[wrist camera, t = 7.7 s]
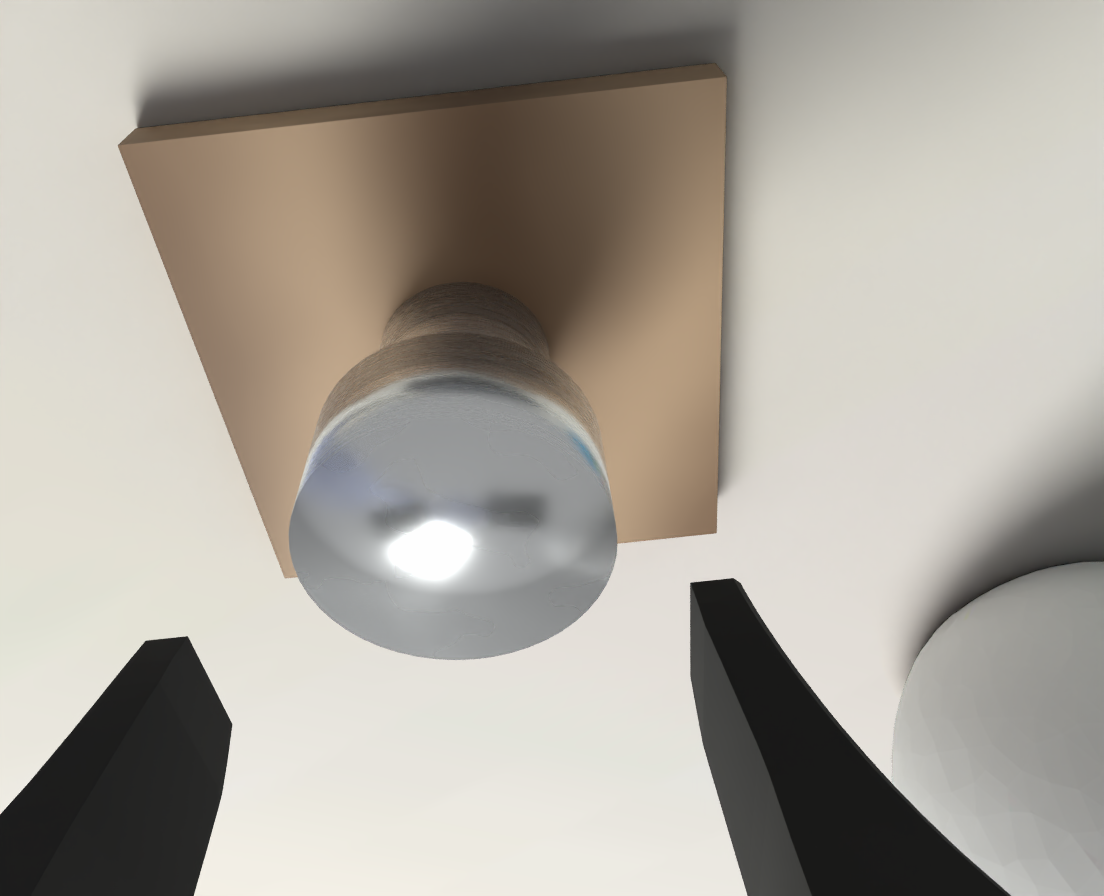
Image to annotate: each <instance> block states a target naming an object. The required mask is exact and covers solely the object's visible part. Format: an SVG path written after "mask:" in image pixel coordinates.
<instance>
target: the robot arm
mask: <svg viewBox="0 0 1104 896" xmlns="http://www.w3.org/2000/svg"><path fill="white" fill-rule="evenodd" d="M690 664H691V682H692V687H693V693H694V698H695V704H696V709H697V715H698V720H699V725H700V731H701V736H702V741H703V746H704V749H705V753H706V756H707V760H708V763H709V766H710V770H711V773H712V777H713V780H714V783H715V787H716V790H717V794H718V797H719V801H720V804H721V807H722V811H723V814H724V817H725V821H726V824H727V828H728V831H729V834H730V838H731V841H732V844H733V848H734V851H735V855H736V858H737V861H738V865H739V868H740V871H741V875H742V878H743V882H744V885H745V888H746V892H747V895H748V896H1011V895H1010V894H1009V893H1008V892H1007V891H1005V890H1004V889H1003V888H1002V887H1001V886H1000V885H999V884H997V883H996V882H995V881H994V880H993V879H992V878H991V877H989V876H988V875H987V874H986V873H985V872H984V871H983V870H981V869H980V868H979V867H978V866H977V865H976V864H975V863H973V862H972V861H971V860H970V859H969V858H968V857H967V856H965V855H964V854H963V853H962V852H961V851H960V850H959V849H958V848H957V847H956V846H955V845H953V844H952V843H951V842H950V841H949V840H948V839H947V838H946V837H945V836H944V835H943V834H942V833H941V832H940V831H939V830H938V829H937V828H936V827H935V826H934V825H933V824H932V823H931V822H930V821H929V820H928V819H926V818H925V817H924V816H923V815H922V814H921V813H920V812H919V811H918V810H917V809H916V808H915V806H914V805H913V804H912V803H911V802H910V801H909V800H908V799H907V798H906V797H905V796H904V795H903V794H902V793H901V792H900V791H899V790H898V789H897V788H896V787H895V786H894V785H893V784H892V783H891V782H890V781H889V780H888V779H887V777H886V776H885V775H884V774H883V773H882V772H881V771H880V770H879V769H878V768H877V767H876V765H875V764H874V763H873V762H872V761H871V760H870V759H869V758H868V757H867V756H866V754H865V753H864V752H863V751H862V750H861V749H860V747H859V746H858V745H857V744H856V743H855V742H854V740H853V739H852V738H851V737H850V736H849V735H848V733H847V732H846V731H845V730H844V729H843V728H842V726H841V725H840V724H839V723H838V722H837V720H836V719H835V718H834V717H833V715H832V714H831V713H830V712H829V711H828V709H827V708H826V707H825V706H824V704H823V703H822V702H821V700H820V699H819V698H818V697H817V695H816V694H815V693H814V691H813V690H812V689H811V687H810V686H809V685H808V684H807V682H806V681H805V680H804V678H803V677H802V676H801V674H800V673H799V672H798V671H797V669H796V668H795V666H794V665H793V664H792V662H791V661H790V660H789V658H788V657H787V655H786V654H785V653H784V651H783V650H782V648H781V647H780V645H779V644H778V642H777V641H776V640H775V638H774V637H773V635H772V634H771V632H770V631H769V629H768V628H767V626H766V625H765V623H764V622H763V620H762V619H761V617H760V615H759V614H758V612H757V611H756V609H755V607H754V606H753V604H752V602H751V601H750V599H749V597H748V596H747V594H746V592H745V590H744V589H743V587H742V585H741V583H739V582H738V581H737V580H735V579H734V578H731V579H721V580H712V581H703V582H693V583H690ZM231 730H232V723H231V721H230V719H229V717H228V715H227V713H226V711H225V709H224V707H223V705H222V703H221V701H220V699H219V697H218V695H217V693H216V691H215V689H214V687H213V685H212V683H211V681H210V679H209V677H208V675H207V673H206V671H205V669H204V668H203V666H202V664H201V662H200V660H199V658H198V656H197V654H196V652H195V650H194V648H193V646H192V644H191V642H190V640H189V638H188V636H186V637H177V638H168V639H158V640H149V641H145V642H144V644H143V645H142V646H141V647H140V648H139V650H138V651H137V652H136V653H135V654H134V656H133V657H132V658H131V659H130V660H129V662H128V663H127V664H126V665H125V666H124V668H123V669H122V670H121V671H120V673H119V674H118V675H117V676H116V678H115V679H114V680H113V681H112V682H111V684H110V685H109V686H108V687H107V689H106V690H105V691H104V692H103V694H102V695H101V696H100V697H99V699H98V700H97V701H96V702H95V704H94V705H93V706H92V707H91V709H90V710H89V711H88V712H87V713H86V715H85V716H84V717H83V718H82V720H81V721H80V722H79V723H78V725H77V726H76V727H75V728H74V729H73V731H72V732H71V733H70V734H69V735H68V737H67V738H66V739H65V740H64V741H63V743H62V744H61V745H60V746H59V747H58V749H57V750H56V751H55V752H54V753H53V755H52V756H51V757H50V758H49V759H48V761H47V762H46V763H45V764H44V765H43V767H42V768H41V769H40V770H39V771H38V773H37V774H36V775H35V776H34V777H33V778H32V780H31V781H30V782H29V783H28V784H27V785H26V786H25V788H24V789H23V790H22V791H21V792H20V793H19V794H18V795H17V796H16V798H15V799H14V800H13V801H12V802H11V803H10V804H9V805H8V807H7V808H6V809H5V810H4V811H3V812H2V813H1V814H0V896H194V892H195V889H196V885H197V882H198V878H199V875H200V871H201V868H202V865H203V861H204V858H205V854H206V851H207V847H208V843H209V840H210V836H211V833H212V829H213V825H214V822H215V818H216V815H217V811H218V807H219V803H220V800H221V796H222V791H223V785H224V779H225V773H226V767H227V760H228V753H229V745H230V738H231Z"/></svg>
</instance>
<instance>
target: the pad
mask: <svg viewBox="0 0 1104 896" xmlns="http://www.w3.org/2000/svg"><path fill="white" fill-rule="evenodd" d="M726 90H727V76H726V75H725V74H724V73H723V71H722V70H721V69H720V68H719V66H718V65H717V64H716V63H711V64H702V65H693V66H684V67H675V68H666V69H658V70H649V71H640V72H631V73H622V74H613V75H604V76H596V77H587V78H578V79H569V80H560V81H551V82H542V83H534V84H525V85H516V86H507V87H498V88H489V89H481V90H472V91H463V92H454V93H445V94H436V95H427V96H419V97H410V98H401V99H392V100H383V101H374V102H365V103H357V104H348V105H339V106H330V107H321V108H312V109H303V110H295V111H286V112H277V113H268V114H259V115H250V116H241V117H233V118H224V119H215V120H206V121H197V122H188V123H180V124H171V125H162V126H153V127H144V128H136V129H135V130H134V131H133V132H131V133H130V134H129V135H128V136H127V137H126V138H125V139H124V140H123V141H122V142H121V143H120V144H119V145H118V147H119V150H120V153H121V155H122V158H123V160H124V163H125V166H126V168H127V171H128V173H129V176H130V179H131V181H132V184H133V186H134V189H135V191H136V194H137V197H138V199H139V202H140V204H141V207H142V210H143V212H144V215H145V217H146V220H147V223H148V225H149V228H150V230H151V233H152V235H153V238H154V241H155V243H156V246H157V248H158V251H159V254H160V256H161V259H162V261H163V264H164V267H165V269H166V272H167V274H168V277H169V280H170V282H171V285H172V287H173V290H174V292H175V295H176V298H177V300H178V303H179V305H180V308H181V311H182V313H183V316H184V318H185V321H186V324H187V326H188V329H189V331H190V334H191V336H192V339H193V342H194V344H195V347H196V349H197V352H198V355H199V357H200V360H201V362H202V365H203V368H204V370H205V373H206V375H207V378H208V381H209V383H210V386H211V388H212V391H213V393H214V396H215V399H216V401H217V404H218V406H219V409H220V412H221V414H222V417H223V419H224V422H225V425H226V427H227V430H228V432H229V435H230V437H231V440H232V443H233V445H234V448H235V450H236V453H237V456H238V458H239V461H240V463H241V466H242V469H243V471H244V474H245V476H246V479H247V482H248V484H249V487H250V489H251V492H252V494H253V497H254V500H255V502H256V505H257V507H258V510H259V513H260V515H261V518H262V520H263V523H264V526H265V528H266V531H267V533H268V536H269V538H270V541H271V544H272V546H273V549H274V551H275V554H276V557H277V559H278V562H279V564H280V567H281V570H282V572H283V575H284V577H285V578H293V577H298V576H297V574H296V571H295V569H294V567H293V563H292V559H291V555H290V550H289V526H290V518H291V514H292V511H293V507H294V504H295V500H296V496H297V493H298V489H299V486H300V482H301V479H302V475H303V472H304V468H305V464H306V461H307V457H308V454H309V450H310V447H311V443H312V439H313V436H314V432H315V429H316V425H317V422H318V419H319V416H320V412H321V409H322V407H323V405H324V403H325V401H326V399H327V397H328V395H329V394H330V392H331V391H332V390H333V388H334V387H335V386H336V384H337V383H338V381H339V380H340V379H341V378H342V377H343V376H344V375H345V374H346V373H347V372H348V371H349V370H350V369H351V368H352V367H354V366H355V365H356V364H358V363H359V362H360V361H362V360H363V359H364V358H366V357H367V356H369V355H371V354H373V353H375V352H376V351H378V350H380V346H381V341H382V336H383V333H384V331H385V328H386V326H387V324H388V322H389V320H390V318H391V317H392V316H393V314H394V313H395V312H396V310H397V309H398V308H399V307H400V306H401V305H402V304H403V303H404V302H406V301H407V300H408V299H410V298H411V297H412V296H414V295H416V294H418V293H419V292H421V291H423V290H426V289H428V288H431V287H434V286H437V285H441V284H446V283H453V282H471V283H479V284H484V285H488V286H492V287H494V288H497V289H500V290H502V291H504V292H506V293H508V294H510V295H512V296H513V297H515V298H516V299H518V300H519V301H521V302H522V303H523V304H524V305H525V306H526V307H528V308H529V310H530V311H531V312H532V313H533V314H534V315H535V317H536V318H537V320H538V321H539V323H540V324H541V326H542V328H543V330H544V332H545V335H546V338H547V342H548V347H549V354H550V361H552V362H553V363H555V364H556V365H557V366H558V367H560V368H561V369H562V370H563V371H564V372H565V373H567V374H568V375H569V376H570V377H571V378H572V379H573V381H574V382H575V383H576V384H577V385H578V386H579V387H580V388H581V390H582V391H583V393H584V394H585V396H586V397H587V399H588V400H589V402H590V404H591V406H592V408H593V410H594V413H595V415H596V417H597V421H598V424H599V428H600V431H601V437H602V443H603V449H604V455H605V461H606V468H607V474H608V480H609V486H610V492H611V498H612V504H613V510H614V516H615V523H616V531H617V544H618V543H627V542H637V541H646V540H656V539H666V538H675V537H685V536H694V535H704V534H713V533H717V492H718V447H719V403H720V358H721V313H722V269H723V224H724V179H725V135H726Z"/></svg>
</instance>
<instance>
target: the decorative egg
mask: <svg viewBox="0 0 1104 896" xmlns="http://www.w3.org/2000/svg"><path fill="white" fill-rule="evenodd" d="M892 784H893V785H894V786H895V787H896V788H897V789H898V790H899V791H900V792H901V793H902V794H903V795H904V796H905V797H906V798H907V799H908V800H909V801H910V802H911V803H912V804H913V805H914V806H915V808H916V809H917V810H918V811H919V812H920V813H921V814H922V815H923V816H924V817H925V818H926V819H928V820H929V821H930V822H931V823H932V824H933V825H934V826H935V827H936V828H937V829H938V830H939V831H940V832H941V833H942V834H943V835H944V836H945V837H946V838H947V839H948V840H949V841H950V842H951V843H952V844H953V845H955V846H956V847H957V848H958V849H959V850H960V851H961V852H962V853H963V854H964V855H965V856H967V857H968V858H969V859H970V860H971V861H972V862H973V863H975V864H976V865H977V866H978V867H979V868H980V869H981V870H983V871H984V872H985V873H986V874H987V875H988V876H989V877H991V878H992V879H993V880H994V881H995V882H996V883H997V884H999V885H1000V886H1001V887H1002V888H1003V889H1004V890H1005V891H1007V892H1008V893H1009V894H1010V895H1011V896H1104V562H1079V563H1073V564H1067V565H1060V566H1054V567H1050V568H1046V569H1042V570H1038V571H1035V572H1032V573H1029V574H1027V575H1024V576H1021V577H1019V578H1016V579H1014V580H1011V581H1009V582H1007V583H1004V584H1002V585H999V586H997V587H996V588H994V589H992V590H990V591H988V592H986V593H985V594H983V595H981V596H979V597H978V598H976V599H975V600H973V601H972V602H970V603H969V604H967V605H966V606H964V607H963V608H962V609H960V610H959V611H957V612H956V613H955V614H953V615H952V616H950V617H949V618H948V619H947V620H946V621H945V622H944V623H943V624H942V625H941V626H940V627H939V628H938V629H937V630H936V631H935V633H934V634H933V635H932V637H931V638H930V639H929V641H928V642H927V643H926V645H925V646H924V647H923V649H922V650H921V652H920V653H919V655H918V656H917V658H916V660H915V662H914V664H913V666H912V669H911V671H910V673H909V676H908V678H907V680H906V683H905V686H904V689H903V693H902V696H901V699H900V703H899V707H898V711H897V715H896V720H895V726H894V734H893V747H892Z"/></svg>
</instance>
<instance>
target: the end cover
mask: <svg viewBox="0 0 1104 896" xmlns="http://www.w3.org/2000/svg"><path fill="white" fill-rule="evenodd" d="M289 550H290V555H291V559H292V563H293V567H294V569H295V571H296V574H297V576H298V578H299V581H300V582H301V584H302V585H303V587H304V589H305V590H306V592H307V594H308V595H309V596H310V597H311V599H312V600H313V601H314V602H315V603H316V605H317V606H318V607H319V608H320V609H321V610H322V611H323V612H324V613H326V614H327V615H328V616H329V617H330V618H331V619H332V620H334V621H335V622H336V623H338V624H339V625H341V626H342V627H343V628H345V629H346V630H348V631H350V632H351V633H353V634H355V635H357V636H358V637H360V638H362V639H364V640H366V641H369V642H371V643H373V644H376V645H378V646H380V647H383V648H387V649H390V650H393V651H396V652H399V653H404V654H408V655H413V656H417V657H425V658H432V659H447V660H465V659H479V658H487V657H494V656H499V655H503V654H508V653H512V652H515V651H519V650H522V649H525V648H528V647H531V646H533V645H535V644H538V643H540V642H542V641H545V640H547V639H549V638H550V637H552V636H554V635H556V634H558V633H559V632H561V631H563V630H564V629H565V628H567V627H568V626H570V625H571V624H572V623H574V622H575V621H576V620H577V619H579V618H580V617H581V616H582V615H583V614H584V613H585V612H586V611H587V610H588V609H589V608H590V607H591V606H592V604H593V603H594V602H595V601H596V600H597V599H598V597H599V596H600V594H601V592H602V591H603V589H604V588H605V586H606V584H607V582H608V580H609V578H610V575H611V573H612V570H613V567H614V563H615V559H616V554H617V531H616V523H615V516H614V510H613V504H612V498H611V492H610V486H609V480H608V474H607V468H606V461H605V455H604V449H603V443H602V437H601V431H600V428H599V424H598V421H597V417H596V415H595V413H594V410H593V408H592V406H591V404H590V402H589V400H588V399H587V397H586V396H585V394H584V393H583V391H582V390H581V388H580V387H579V386H578V385H577V384H576V383H575V382H574V381H573V379H572V378H571V377H570V376H569V375H568V374H567V373H565V372H564V371H563V370H562V369H561V368H560V367H558V366H557V365H556V364H555V363H553V362H552V361H550V354H549V347H548V342H547V338H546V335H545V332H544V330H543V328H542V326H541V324H540V323H539V321H538V320H537V318H536V317H535V315H534V314H533V313H532V312H531V311H530V310H529V308H528V307H526V306H525V305H524V304H523V303H522V302H521V301H519V300H518V299H516V298H515V297H513V296H512V295H510V294H508V293H506V292H504V291H502V290H500V289H497V288H494V287H492V286H488V285H484V284H479V283H471V282H453V283H446V284H441V285H437V286H434V287H431V288H428V289H426V290H423V291H421V292H419V293H418V294H416V295H414V296H412V297H411V298H410V299H408V300H407V301H406V302H404V303H403V304H402V305H401V306H400V307H399V308H398V309H397V310H396V312H395V313H394V314H393V316H392V317H391V318H390V320H389V322H388V324H387V326H386V328H385V331H384V333H383V336H382V341H381V346H380V350H378V351H376V352H375V353H373V354H371V355H369V356H367V357H366V358H364V359H363V360H362V361H360V362H359V363H358V364H356V365H355V366H354V367H352V368H351V369H350V370H349V371H348V372H347V373H346V374H345V375H344V376H343V377H342V378H341V379H340V380H339V381H338V383H337V384H336V386H335V387H334V388H333V390H332V391H331V392H330V394H329V395H328V397H327V399H326V401H325V403H324V405H323V407H322V409H321V412H320V416H319V419H318V422H317V425H316V429H315V432H314V436H313V439H312V443H311V447H310V450H309V454H308V457H307V461H306V464H305V468H304V472H303V475H302V479H301V482H300V486H299V489H298V493H297V496H296V500H295V504H294V507H293V511H292V514H291V518H290V526H289Z"/></svg>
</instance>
